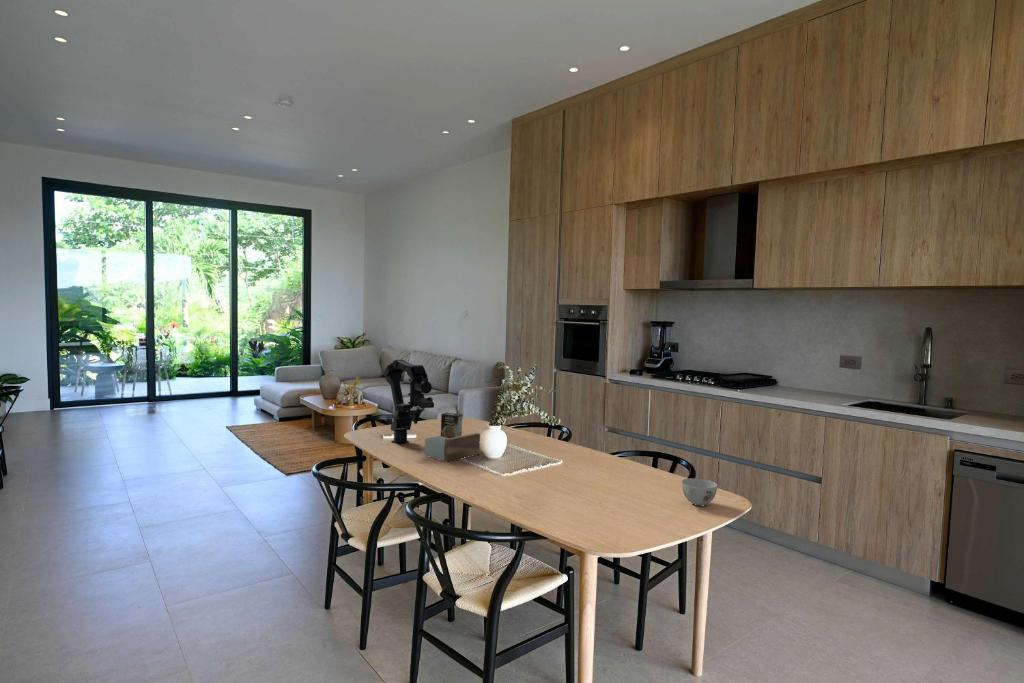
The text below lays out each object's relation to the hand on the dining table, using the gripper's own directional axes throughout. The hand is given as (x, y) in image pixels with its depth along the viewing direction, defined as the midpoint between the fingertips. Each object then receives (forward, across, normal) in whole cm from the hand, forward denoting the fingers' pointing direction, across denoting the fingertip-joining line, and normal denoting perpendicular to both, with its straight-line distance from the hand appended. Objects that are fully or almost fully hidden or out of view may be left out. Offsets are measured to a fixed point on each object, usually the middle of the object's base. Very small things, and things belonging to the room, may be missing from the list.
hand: (415, 423), depth 269 cm
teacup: (+16, +26, -128) cm, 132 cm away
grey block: (+13, 0, -19) cm, 23 cm away
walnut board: (+13, +6, -26) cm, 30 cm away
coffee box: (+12, +17, -6) cm, 22 cm away
